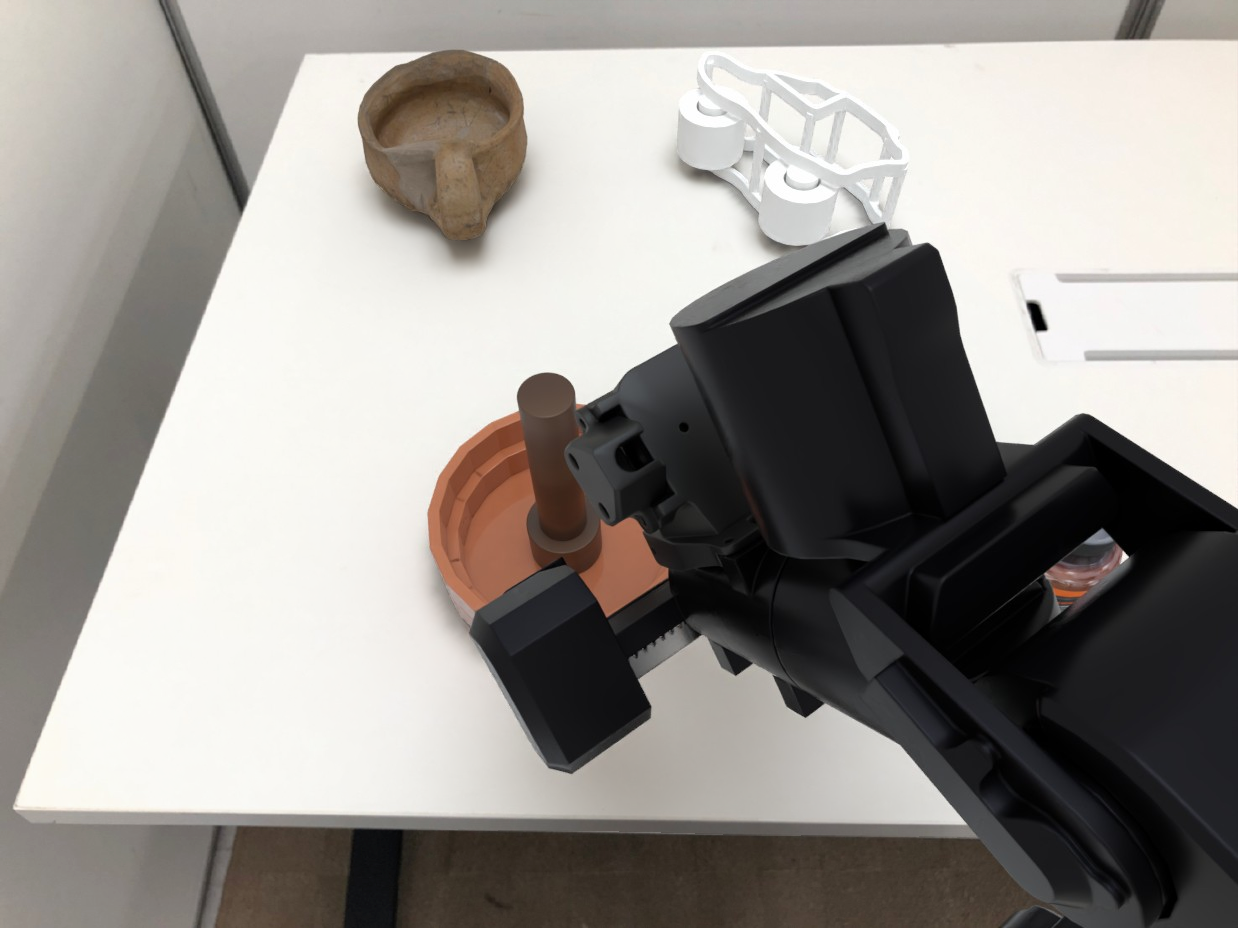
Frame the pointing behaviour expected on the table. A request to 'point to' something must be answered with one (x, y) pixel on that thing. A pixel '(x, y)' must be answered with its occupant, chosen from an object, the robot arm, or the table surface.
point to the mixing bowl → (516, 528)
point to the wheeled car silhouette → (785, 150)
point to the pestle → (556, 476)
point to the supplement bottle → (1084, 568)
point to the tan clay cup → (445, 137)
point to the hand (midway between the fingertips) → (634, 525)
